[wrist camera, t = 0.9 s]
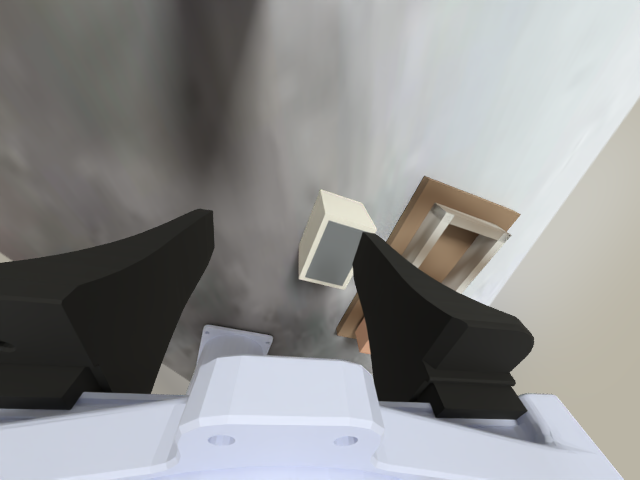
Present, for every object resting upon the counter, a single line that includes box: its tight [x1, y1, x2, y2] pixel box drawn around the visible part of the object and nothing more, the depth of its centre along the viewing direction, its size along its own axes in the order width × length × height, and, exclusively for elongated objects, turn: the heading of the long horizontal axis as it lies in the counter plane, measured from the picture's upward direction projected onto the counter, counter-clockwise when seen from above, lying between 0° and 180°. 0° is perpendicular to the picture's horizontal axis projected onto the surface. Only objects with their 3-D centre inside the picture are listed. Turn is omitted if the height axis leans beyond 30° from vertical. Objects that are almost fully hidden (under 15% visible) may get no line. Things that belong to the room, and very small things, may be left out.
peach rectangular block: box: [355, 318, 371, 354], centre depth 27 cm, size 4×7×3 cm, turn 69°
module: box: [299, 189, 377, 290], centre depth 21 cm, size 6×4×5 cm, turn 159°
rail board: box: [336, 176, 521, 339], centre depth 25 cm, size 20×10×3 cm, turn 159°
